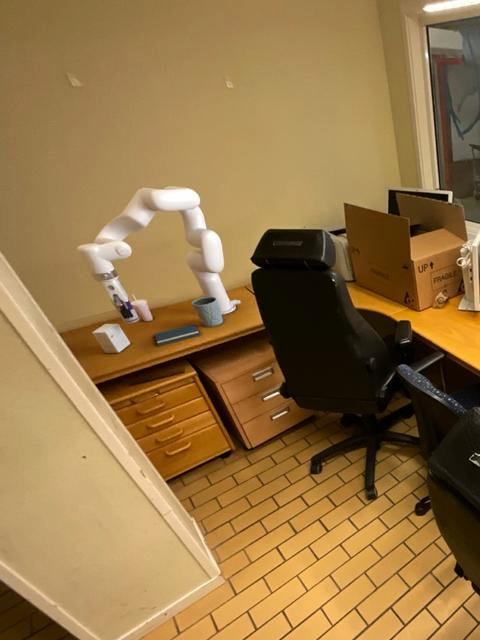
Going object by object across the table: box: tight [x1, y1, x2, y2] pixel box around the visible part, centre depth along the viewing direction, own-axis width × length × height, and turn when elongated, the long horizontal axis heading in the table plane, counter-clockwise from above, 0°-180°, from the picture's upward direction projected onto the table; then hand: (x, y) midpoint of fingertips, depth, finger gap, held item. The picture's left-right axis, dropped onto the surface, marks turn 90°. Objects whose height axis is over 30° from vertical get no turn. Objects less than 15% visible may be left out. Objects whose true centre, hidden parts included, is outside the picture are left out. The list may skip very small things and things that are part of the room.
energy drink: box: [109, 298, 140, 324], centre depth 168 cm, size 5×5×12 cm
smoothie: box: [130, 293, 154, 322], centre depth 193 cm, size 6×6×14 cm
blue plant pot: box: [191, 296, 224, 328], centre depth 192 cm, size 10×10×12 cm
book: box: [154, 323, 201, 347], centre depth 185 cm, size 16×12×1 cm
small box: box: [91, 323, 131, 354], centre depth 172 cm, size 8×6×10 cm
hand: (128, 314), depth 170 cm, fingers closed on energy drink, 5 cm apart
